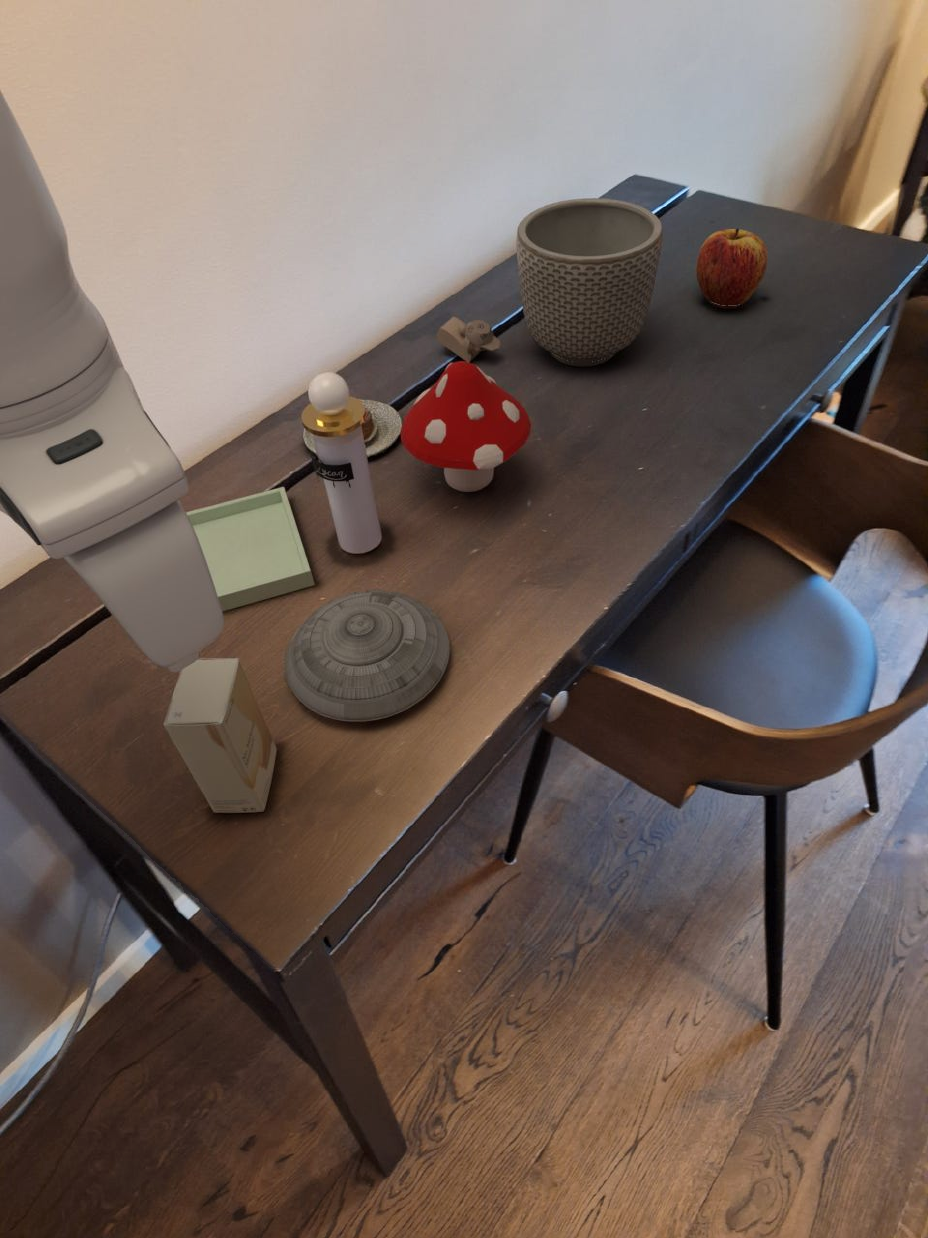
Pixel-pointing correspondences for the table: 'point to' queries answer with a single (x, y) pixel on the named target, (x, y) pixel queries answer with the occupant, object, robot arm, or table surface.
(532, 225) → the planter
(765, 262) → the apple
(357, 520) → the perfume bottle
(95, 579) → the robot arm
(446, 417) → the decorative mushroom
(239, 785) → the cosmetic box
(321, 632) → the flying saucer
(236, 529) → the tray
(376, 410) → the grey speckled shallow bowl
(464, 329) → the toy character
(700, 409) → the table surface
